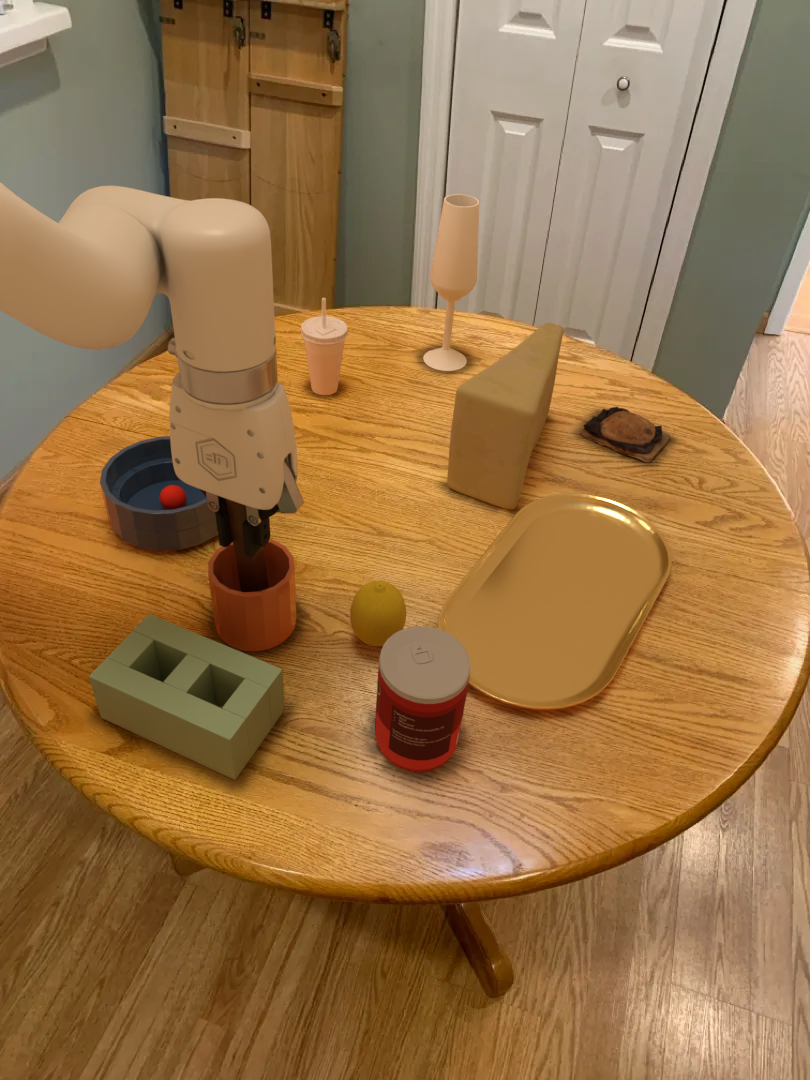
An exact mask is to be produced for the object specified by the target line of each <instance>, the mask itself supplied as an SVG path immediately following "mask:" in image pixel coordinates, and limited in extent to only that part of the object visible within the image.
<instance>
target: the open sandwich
mask: <svg viewBox="0 0 810 1080" xmlns="http://www.w3.org/2000/svg"><path fill="white" fill-rule="evenodd" d="M579 435H580V436H582V437H583V438H587V440H589V441H593V442H596V443H598V445H600V446H607V447H608V448H610V449H611V450H613V451H614V452H618V453H621V454H624V455H627V456H628V457H632V458H636V459H637V460H640V461H643V462H644V463H647V464H648V463H651V462H652V461H653V459H654V458H655V457H656V456H657V455H658V454H659V453H660V451H661V450H662V449H663V448H664V447H665V446H666V445H667V444H668V442H669V441H670V440H671V435H670V434H669V433H667V432H664V431H663V427H662V425H655V423H653V422H652V421H650V420H649V419H648V418H646V417H644V416H642V415H640V414H637V413H634V412H632V411H630V410H628V409H626V408H623V407H619V406H613V407H610V408H608V409H605V408H603V409H602V410H601V411H600V412H598V414H597V415H596V416H592V417H591V419H589V421H587V422H585V424H584V425H583V428H582V429H581V430H580V434H579Z"/></svg>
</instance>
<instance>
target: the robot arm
mask: <svg viewBox="0 0 810 1080" xmlns="http://www.w3.org/2000/svg"><path fill="white" fill-rule="evenodd" d="M272 255H273V254H272V239H271V230H270V227H269V223H268V222H267V219H266V218H265V216H264V215H263V213H261V211H260V210H258V209H257V208H256V207H254V206H253V205H251V204H249V203H246V202H244V201H240V200H237V199H236V200H235V199H231V198H230V199H229V198H222V197H221V198H219V197H218V198H217V197H211V198H210V197H209V198H200V199H193V200H187V199H182V198H176V197H171V196H167V195H162V194H158V193H154V192H149V191H145V190H141V189H137V188H132V187H126V186H122V185H121V186H120V185H100V186H96V187H93V188H89V189H87V190H85V191H83V192H82V193H80V194H79V195H77V197H75V199H74V200H73V201H72V203H71V204H70V205H69V207H68V208H67V209H66V211H65V212H64V214H63V216H62V217H61V219H60V220H59V221H58V222H57V221H55V220H53V219H52V218H51V217H49V216H47V215H46V214H44V213H43V212H41V211H40V210H38V209H37V208H35V207H34V206H32V205H30V203H28V202H26V201H25V200H24V199H22V198H21V197H19V196H18V195H17V194H15V193H14V192H13V191H12V190H10V189H9V188H8V187H7V186H6V185H5V184H4V183H2V182H1V181H0V312H2V313H4V314H6V315H8V316H9V317H11V318H13V319H14V320H15V321H18V323H21V324H23V325H25V326H27V327H28V328H30V329H32V330H34V331H36V332H37V333H40V334H42V335H44V336H45V337H48V338H50V339H53V340H55V341H57V342H59V343H63V344H65V345H68V346H70V347H75V348H80V349H84V350H106V349H107V350H108V349H111V348H114V347H117V346H120V345H122V344H124V343H126V342H127V341H128V340H130V339H132V338H133V336H134V335H136V334H137V332H139V330H140V329H141V327H142V326H143V324H144V322H145V320H146V318H147V316H148V313H149V312H150V309H151V306H152V304H153V301H154V298H155V296H156V295H158V294H163V295H165V296H166V297H167V298H168V301H169V306H170V307H169V308H170V313H171V321H172V328H173V335H174V337H172V338H171V339H170V340H169V341H168V344H167V352H168V353H169V354H170V355H172V356H175V357H176V358H177V365H178V373H176V374H175V375H174V377H173V379H172V383H171V390H170V398H169V399H170V400H169V416H168V417H169V422H168V423H169V436H170V442H171V453H172V461H173V466H174V470H175V473H176V475H177V477H178V478H179V479H180V480H182V481H183V482H185V483H186V484H189V485H191V486H193V487H196V488H198V489H200V490H201V492H202V493H203V494H204V495H205V496H206V497H207V504H208V507H209V508H210V509H211V510H212V511H215V516H216V524H217V530H218V535H217V536H218V543H219V546H220V547H228V546H229V545H230V544H231V543H232V542H233V539H232V533H231V527H230V521H229V515H228V510H227V504H226V499H229V500H232V501H235V502H237V503H240V504H243V505H246V515H247V519H246V520H245V521H244V522H243V524H242V531H243V542H244V552H245V554H246V556H249V557H253V556H254V555H255V554H256V552H257V551H258V550H259V549H260V548H261V547H264V546H265V545H266V544H267V543H268V541H269V539H271V522H270V517H272V516H275V514H277V513H279V514H297V512H298V511H299V510H300V509H301V507H303V505H304V504H305V500H304V498H303V496H302V493H301V491H300V489H299V486H298V484H297V481H298V473H299V471H298V468H299V467H298V463H299V462H298V449H297V440H296V434H295V433H296V432H295V426H294V421H293V416H292V411H291V407H290V402H289V399H288V395H287V392H286V388H285V385H284V384H283V383H281V382H279V377H278V358H277V357H278V355H277V339H276V338H277V335H276V321H275V319H276V318H275V296H274V294H275V293H274V276H273V275H274V274H273V256H272Z"/></svg>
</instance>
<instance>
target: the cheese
mask: <svg viewBox="0 0 810 1080" xmlns="http://www.w3.org/2000/svg"><path fill="white" fill-rule="evenodd" d="M563 336H564V327H563V326H562V325H560V324H557V323H553V322H545V324H542V325H541V326H539V327H538V328H536V329H535V330H534V331H533V332H532V333H531V334H530V335H528V336H527V337H526V338H525V339H524V340H523V341H521V342H520V343H519V344H518V345H516V346H515V347H514V348H513V349H511V350H510V351H509V352H508V353H506V354H504V356H502V357H501V358H499V359H498V360H497V361H495V362H494V363H492V364H491V365H489V366H487V367H486V368H484V369H482V370H481V371H479V372H478V373H476V374H475V375H473V376H472V377H470V378H469V379H467V380H466V381H464V382H463V383H461V384H460V385H459V386H458V387H457V389H456V391H455V397H454V403H453V404H454V405H453V412H452V418H451V419H452V420H451V427H450V428H451V429H450V438H449V451H448V465H447V478H446V484H447V486H448V487H449V488H450V489H451V490H454V491H456V492H458V493H461V494H463V495H466V496H468V497H470V498H474V499H476V500H479V501H482V502H485V503H488V504H490V505H492V506H496V507H499V508H502V509H506V510H515V509H516V508H517V507H518V504H519V501H520V498H521V494H522V491H523V487H524V483H525V478H526V475H527V470H528V466H529V463H530V459H531V455H532V452H533V450H534V448H535V447H536V445H537V443H538V441H539V440H540V439H539V438H540V437H541V435H542V431H543V429H544V427H545V424H546V421H547V418H548V415H549V411H550V408H551V403H552V398H553V393H554V388H555V382H556V376H557V369H558V362H559V357H560V351H561V345H562V341H563Z"/></svg>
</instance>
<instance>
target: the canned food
mask: <svg viewBox="0 0 810 1080" xmlns="http://www.w3.org/2000/svg"><path fill="white" fill-rule="evenodd" d="M469 678H470V660H469V656H468V654H467V651H466V650H465V648H464V647H463V645H462V644H461V643H460V642H459V641H458V640H457V639H456V638H455V637H453V636H452V635H450V634H449V633H447V632H445V631H443V630H440V629H438V627H437V628H436V627H434V626H426V625H416V626H409V627H404V628H403V629H402V630H400V631H398V632H396V633H394V634H393V635H392V636H391V637H390V638H388V640H387V641H386V642H385V644H384V645H383V646H382V648H381V650H380V654H379V659H378V668H377V682H376V683H377V685H376V702H375V718H374V736H375V740H376V744H377V746H378V748H379V750H380V751H381V754H382V755H383V756H384V757H385V759H386V760H387V761H389V762H390V763H391V764H392V765H393V766H395V767H397V768H399V769H400V770H404V771H406V772H410V773H427V772H431V771H434V770H437V769H439V768H440V767H442V766H443V765H445V764H446V763H447V762H448V760H450V758H451V757H452V756H453V754H454V753H455V751H456V749H457V746H458V743H459V737H460V733H461V728H462V724H463V723H462V722H463V718H464V711H465V706H466V701H467V697H468V696H467V694H468V691H469V686H470V685H469Z"/></svg>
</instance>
